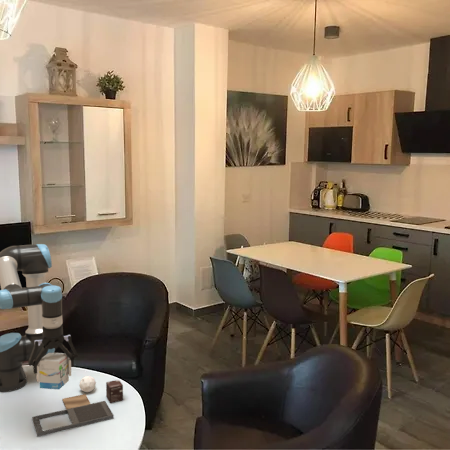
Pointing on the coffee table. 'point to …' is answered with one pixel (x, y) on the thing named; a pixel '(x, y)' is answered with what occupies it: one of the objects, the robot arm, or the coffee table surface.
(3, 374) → the robot arm
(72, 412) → the grey flat frame
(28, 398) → the coffee table surface
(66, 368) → the ink box
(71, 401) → the pad
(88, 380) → the ornament
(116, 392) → the box
